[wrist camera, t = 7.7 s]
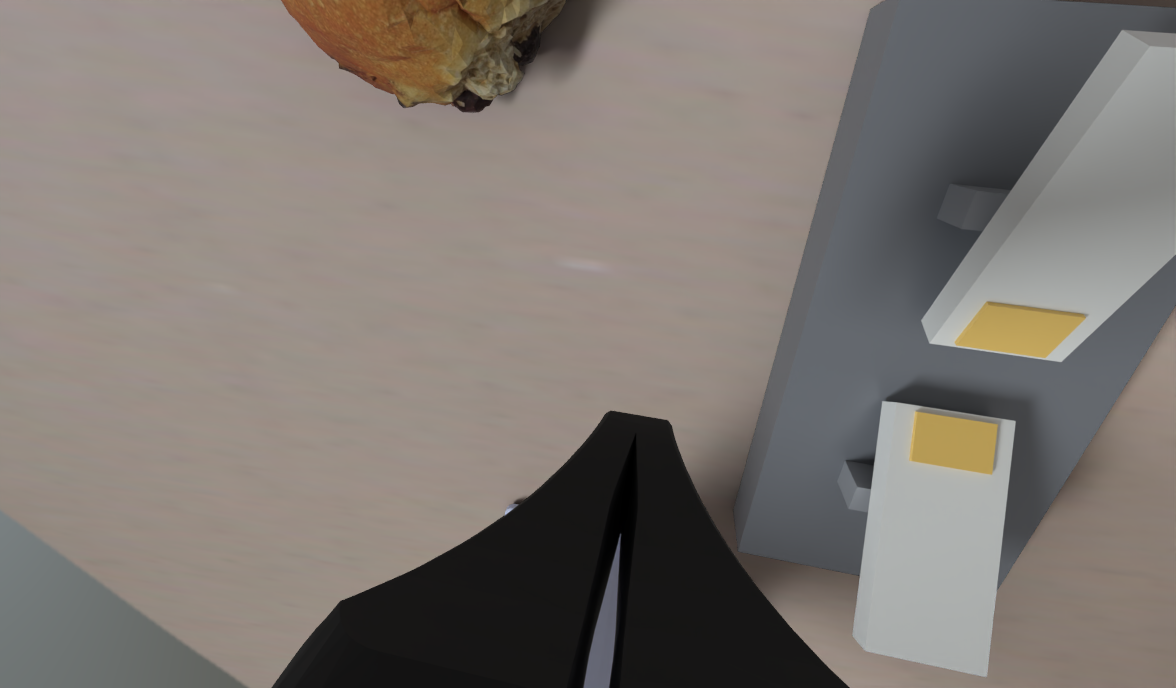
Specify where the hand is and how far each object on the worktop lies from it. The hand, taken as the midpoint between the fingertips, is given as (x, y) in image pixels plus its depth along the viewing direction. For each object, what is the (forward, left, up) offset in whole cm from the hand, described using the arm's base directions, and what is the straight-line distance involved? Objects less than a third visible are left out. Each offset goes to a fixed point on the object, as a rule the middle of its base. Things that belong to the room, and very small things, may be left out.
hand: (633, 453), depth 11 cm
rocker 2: (+5, -10, -5) cm, 12 cm away
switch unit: (0, -10, -10) cm, 14 cm away
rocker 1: (-5, -10, -5) cm, 12 cm away
